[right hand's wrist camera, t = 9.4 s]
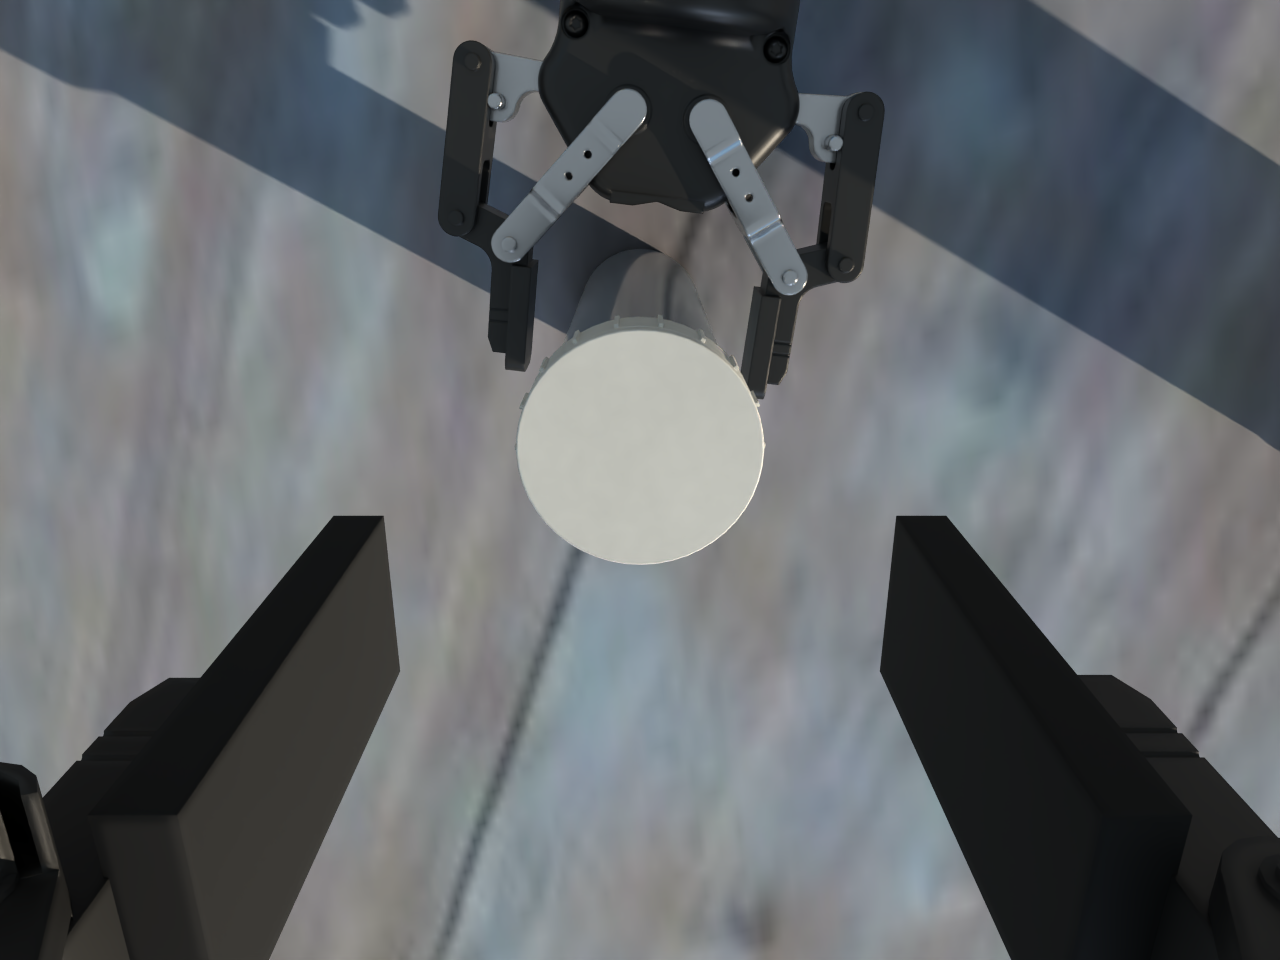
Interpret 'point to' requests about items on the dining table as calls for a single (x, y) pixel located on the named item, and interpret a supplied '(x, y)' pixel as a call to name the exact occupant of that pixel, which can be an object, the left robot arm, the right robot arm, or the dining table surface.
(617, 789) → the dining table surface
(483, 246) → the left robot arm
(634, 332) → the lid
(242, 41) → the dining table surface
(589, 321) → the jar
